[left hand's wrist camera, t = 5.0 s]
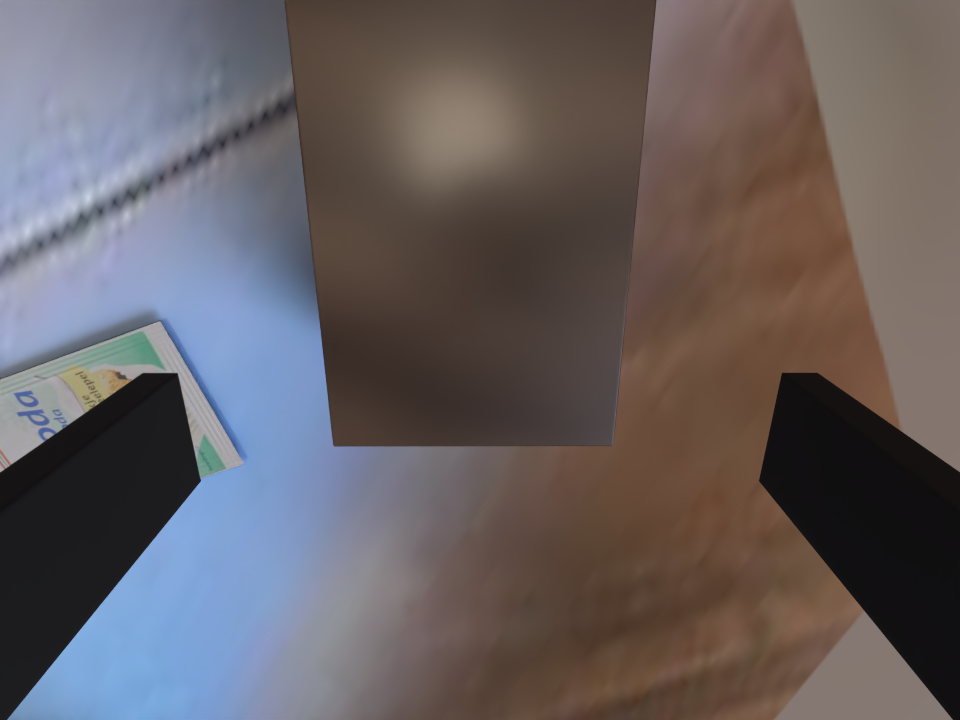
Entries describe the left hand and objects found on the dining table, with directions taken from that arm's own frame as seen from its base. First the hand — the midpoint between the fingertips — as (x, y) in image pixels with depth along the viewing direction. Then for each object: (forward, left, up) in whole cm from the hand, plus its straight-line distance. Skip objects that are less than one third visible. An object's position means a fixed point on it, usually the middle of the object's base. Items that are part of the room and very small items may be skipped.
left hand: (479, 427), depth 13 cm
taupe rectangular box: (-1, +4, -16) cm, 17 cm away
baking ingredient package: (-20, -12, -16) cm, 29 cm away
